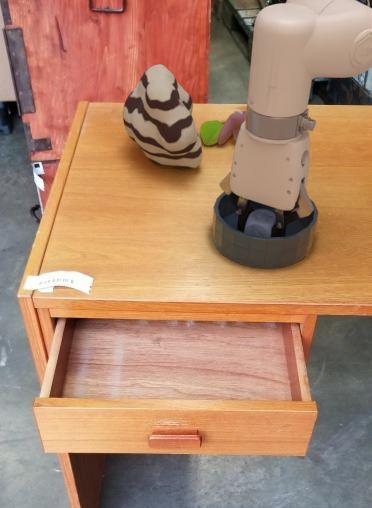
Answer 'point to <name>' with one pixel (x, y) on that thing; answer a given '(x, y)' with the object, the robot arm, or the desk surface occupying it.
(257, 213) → the decorative dice
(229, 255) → the basin
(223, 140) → the video game controller
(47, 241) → the desk surface
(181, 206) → the desk surface
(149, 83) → the sculpture
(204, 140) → the decorative leaf
